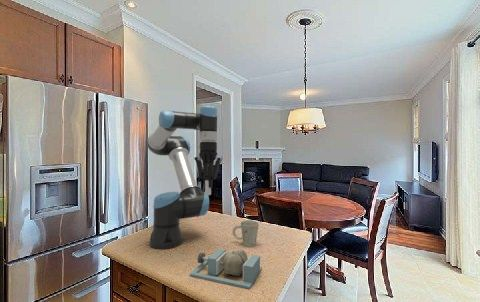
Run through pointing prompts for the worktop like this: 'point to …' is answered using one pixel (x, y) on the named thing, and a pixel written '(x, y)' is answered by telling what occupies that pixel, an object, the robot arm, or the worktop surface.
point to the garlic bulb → (234, 262)
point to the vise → (249, 277)
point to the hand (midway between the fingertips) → (208, 194)
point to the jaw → (213, 261)
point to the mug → (248, 232)
